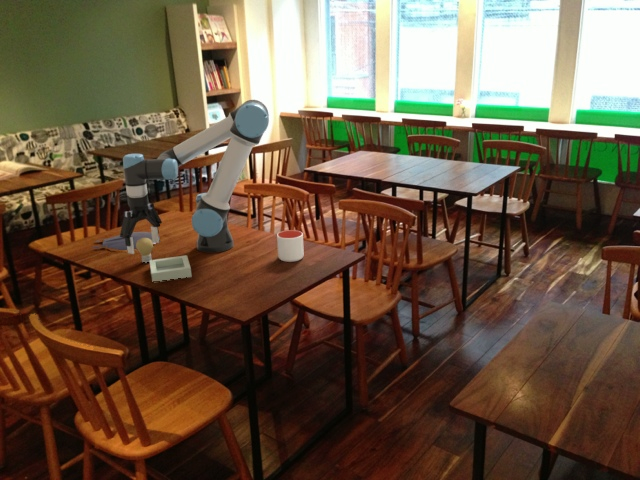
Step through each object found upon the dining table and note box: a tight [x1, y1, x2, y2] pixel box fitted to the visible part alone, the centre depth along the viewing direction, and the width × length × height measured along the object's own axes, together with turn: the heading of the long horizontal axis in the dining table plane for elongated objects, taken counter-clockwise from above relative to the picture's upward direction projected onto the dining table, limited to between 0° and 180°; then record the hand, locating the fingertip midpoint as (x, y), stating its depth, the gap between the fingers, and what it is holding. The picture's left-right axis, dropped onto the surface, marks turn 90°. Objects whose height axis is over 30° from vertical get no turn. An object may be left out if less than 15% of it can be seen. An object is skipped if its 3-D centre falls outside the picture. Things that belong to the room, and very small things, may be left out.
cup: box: [276, 229, 305, 263], centre depth 228 cm, size 10×10×10 cm
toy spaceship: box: [91, 231, 161, 250], centre depth 253 cm, size 28×24×3 cm
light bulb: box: [136, 238, 154, 264], centre depth 229 cm, size 6×6×10 cm
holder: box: [149, 255, 193, 282], centre depth 219 cm, size 14×14×4 cm
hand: (143, 247), depth 229 cm, fingers open, 13 cm apart
